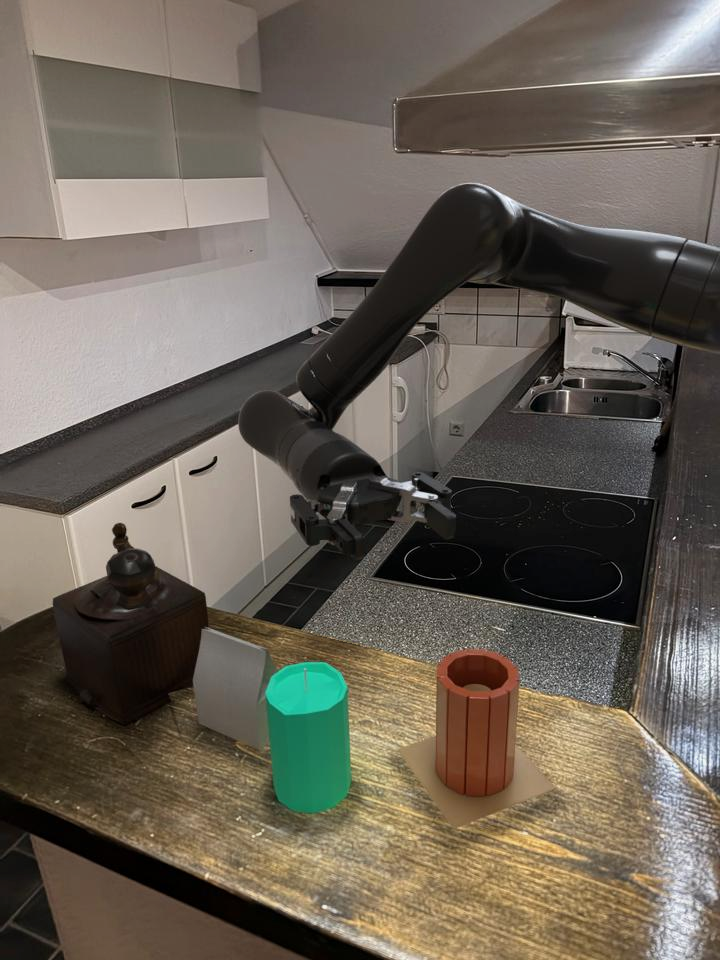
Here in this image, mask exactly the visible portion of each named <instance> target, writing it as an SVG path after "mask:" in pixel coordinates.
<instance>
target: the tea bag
mask: <svg viewBox="0 0 720 960" xmlns="http://www.w3.org/2000/svg"><path fill="white" fill-rule="evenodd" d="M270 653H271V652H270V650H269V648H265V647H263V646H260V645H257V644H254V643H252V642H249V641H246V640H244V639H240V638H239V637H236V636H232V635H230V634H227V633H224V632H221V631H218V630H215V629H212V628H210V627H209V628H207V627H205V629H202V634H201V642H200V649H199V654H198V658H197V663H196V668H195V672H194V677H193V693H194V701H195V708H196V716H197V723H198V724H199V725H201V726H204V727H206V728H208V729H211V730H212V731H214V732H217V733H218V734H222V735H224V736H226V737H228V738H231V739H233V740H235V741H238V742H239V743H242V744H244V745H247V746H249V747H251V748H253V749H256V750H258V751H262V750H263V749H264V748H265V747H266V746H267V745H268V744H270V742H269V731H268V720H267V709H266V698H265V693H266V690H267V687H268V684H269V681H270V679H271V677H272V676H273V675H274V674H276V673H277V672H279V670H278V669H277V666H276V665H275V663H274V661H273V659H272V656H271V654H270Z"/></svg>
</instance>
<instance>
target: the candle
mask: <svg viewBox="0 0 720 960" xmlns="http://www.w3.org/2000/svg"><path fill="white" fill-rule="evenodd" d="M265 698H266V709H267V720H268V731H269V752H270V761H271V763H270V764H271V773H272V784H273V788H274V792H275V795H276V798H277V801H278V802H279V803H281V804H283V805H284V806H285V807H287V809H289V810H290V811H292V812H297V813H306V814H307V813H308V814H316V813H319V812H323V811H327V810H329V809H330V810H331V809H334V808H335V807H336V806H337V805H338V804H339V803H341V802H342V801H343V800H344V799H345V798H347V796H348V795H349V791H350V787H351V784H352V763H351V762H352V761H351V759H352V758H351V738H350V712H349V687H348V685H347V683H346V681H345V678H344V676H343V674H342V673H341V672H340V671H339V670H338V669H336V668H335V667H334V666H332V665H330V664H329V663H327V662H326V661H325V662H324V661H321V662H320V661H305V662H300V663H295V664H290V665H289V664H288V665H285V666H284V667H283V668H280V670H278V672H277V673H276V674H274V675H273V676H272V677H271V679H270V681H269V684H268V687H267V690H266V693H265Z"/></svg>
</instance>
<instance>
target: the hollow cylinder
mask: <svg viewBox="0 0 720 960" xmlns="http://www.w3.org/2000/svg"><path fill="white" fill-rule="evenodd" d="M519 674H520V673H519V669H518V668H517V665H515V664H514V663H513V662H512V661H511V660H510V659H509V658H508V657H506V656H504V654H500V653H498V652H495V651H492V650H490V649H487V650H486V649H484V648H466V649H464V648H463V649H460V650H458V651H453V652H450V653H448V654H446V655H445V656H444V657H443V658H442V659H441V660H439V662H438V663H437V665H436V688H435V689H436V691H435V693H436V694H435V695H436V697H435V698H436V699H435V736H436V762H435V771H436V774H437V775H438V776H439V778H440V779H441V781H442V782H443V783H444V785H447V788H450V789H452V790H454V791H456V792H458V793H460V794H462V795H464V794H465V793H466V796H479V797H485V794H486V795H487V796H489V795H492V794H495V793H497V792H500V791H502V790H503V789H505V788H506V787H507V785H508V784H509V783H510V781H511V780H512V779H513V776H514V760H515V744H516V745H517V743H516V741H517V725H518V711H519V709H518V708H519V693H520V676H519ZM470 684H480V685H484V686H486V687H488V688H490V689H491V690H492V691H489V692H477V691H469V690H466V689H464V688H463V687H464V686H466V685H470Z"/></svg>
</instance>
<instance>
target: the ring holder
mask: <svg viewBox="0 0 720 960" xmlns="http://www.w3.org/2000/svg"><path fill="white" fill-rule="evenodd" d="M463 688H464V689H466V690H469V691H477V692H489V691H492V690H491V689H490V688H488V687H486V686H484V685H480V684H470V685H466V686H464V687H463ZM397 752H398V753H399V754H400V756H401V757H402V759H403V760H404V761H405V763H406V764H407V766H408V767H409V769H410V770H411V772H412V773H413V774H414V775H415V777H416V778H417V780H418V782H419V783H420V784H421V785H422V787H423V789H424V790H425V791H426V793H427V794H428V796H429V797H430V799H431V800H432V801H433V802H434V804H435V806H436V807H437V808H438V809H439V811H440V812H441V814H442V815H443V817H444V818H445V820H446V821H447V823H448V824H449V826H450V827H451V828H452V830H455V829H458V828H461V827H463V826H466V825H469V824H470V823H474V822H475V821H478V820H480V819H483V818H486V817H488V816H492V815H493V814H496V813H498V812H501V811H504V810H506V809H509V808H511V807H514V806H516V805H518V804H521V803H523V802H526V801H529V800H531V799H534V798H536V797H539V796H541V795H544V794H546V793H549V792H551V791H554V790H556V789H557V787H556V786H555V785H554V783H552V782H551V780H550V779H549V778H548V777H547V776H546V775H545V774H544V773H543V772H542V771H541V770H540V768H538V766H537V765H536V764H535V763H534V762H533V761H532V760H531V758H529V756H528V755H526V753H525V752H524V751H523V750H522V749H521V748H520V747H519V746H518V744H517V743H516V744H515V760H514V776H513V779H512V780H511V781H510V783H509V784H508V785H507V787H506V788H505V789H503V790H502V791H500V792H497V793H495V794H492V795H489V796H487V795H486V794H485V797H479V796H466V793H465V794H464V795H462V794H460V793H458V792H456V791H454V790H452V789H450V788H447V785H444V783H443V782H442V781H441V779H440V778H439V776H438V775H437V774H436V771H435V762H436V735H435V736H431V737H429V738H427V739H426V738H425V739H423V740H419V741H416V742H414V743H411V744H408V745H405V746H402V747H400V748H397Z"/></svg>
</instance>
